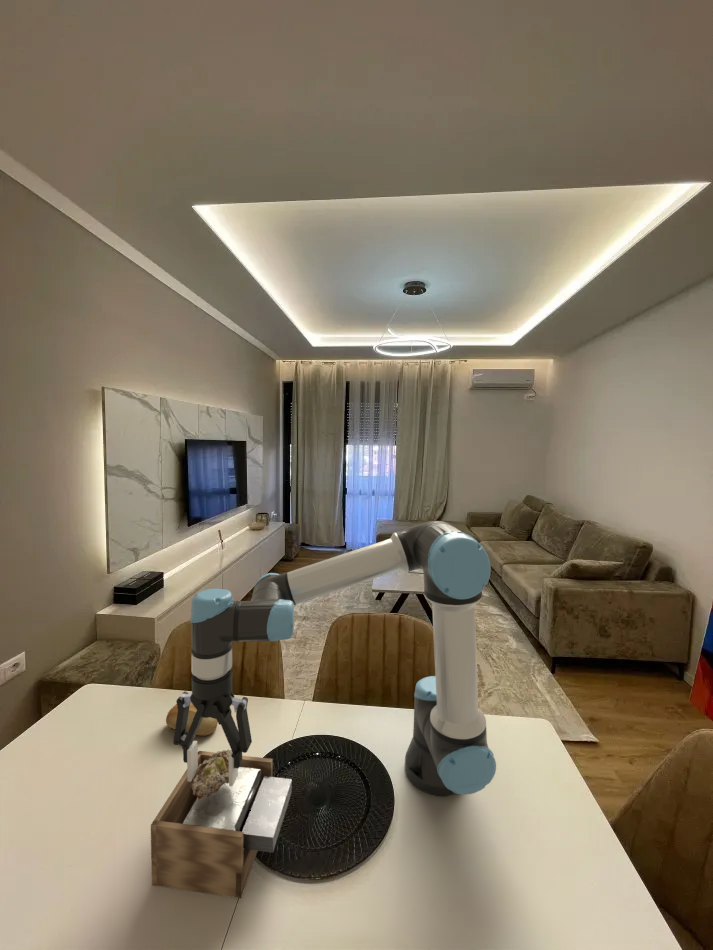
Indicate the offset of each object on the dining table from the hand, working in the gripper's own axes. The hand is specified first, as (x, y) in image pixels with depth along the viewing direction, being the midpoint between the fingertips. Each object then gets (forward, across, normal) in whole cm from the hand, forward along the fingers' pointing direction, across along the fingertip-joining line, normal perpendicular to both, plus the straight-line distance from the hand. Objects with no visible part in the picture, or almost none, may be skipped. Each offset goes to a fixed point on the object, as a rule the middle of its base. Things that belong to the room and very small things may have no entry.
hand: (213, 778), depth 83 cm
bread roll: (+15, +20, -31) cm, 40 cm away
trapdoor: (+7, -6, 0) cm, 9 cm away
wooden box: (+14, -1, 0) cm, 14 cm away
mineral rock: (+1, 0, 0) cm, 1 cm away
